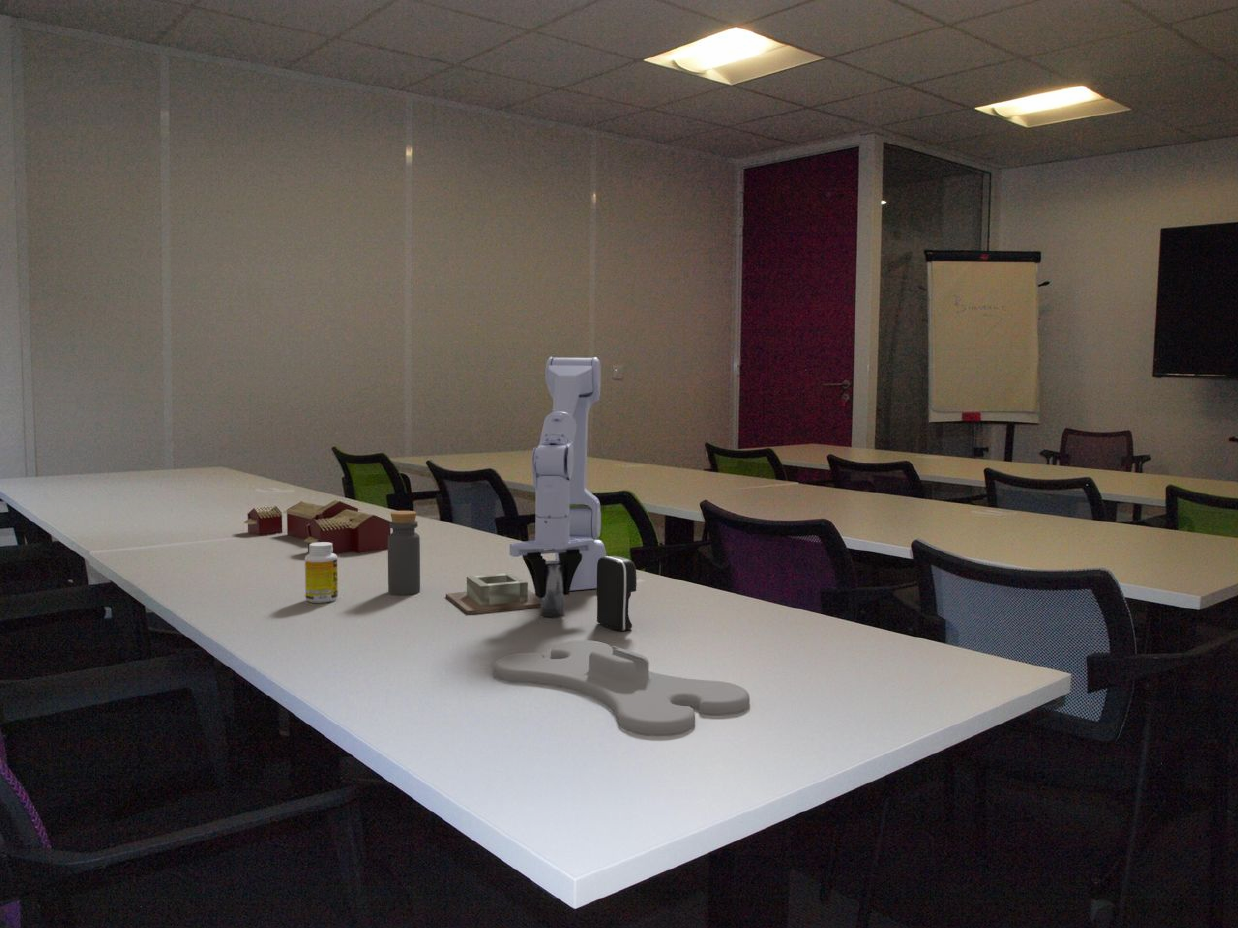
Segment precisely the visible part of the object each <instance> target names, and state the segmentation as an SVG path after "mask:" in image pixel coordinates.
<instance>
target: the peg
mask: <svg viewBox="0 0 1238 928" xmlns="http://www.w3.org/2000/svg"><path fill="white" fill-rule="evenodd" d="M564 610H565V595H564V562H562V561H555V560H546V564H545V570H544V596H543V598H540V607H539V611H540V613H539V615H540V617H542V618H546V619H558V618H563V617H564V616H565V614H564V613H565V611H564Z"/></svg>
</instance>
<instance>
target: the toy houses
mask: <svg viewBox="0 0 1238 928" xmlns="http://www.w3.org/2000/svg"><path fill="white" fill-rule="evenodd" d="M361 511H362V509H360V508H358V507H355V506H353V505H350V504H348V503H345V502H343V501H340V500H336V499H335V500H334V499H333V501H331V502H329V503H327V504H326V505H320V504H315V503H311V502H305V501H300V502H298V503H296V504H294V505H292V506H291V507H289V508H287V509H286V510H285V511H283V512H281V510H280V509H279V507H277V505H276V506H267V507H265V506H264V507H263V508H262V507H257V508H255V507H253V508H252V509H251V510H250V511H249V512H247V513H246V515H247V519H246V520H245V521H243V524H247V533H248V532H249V534H252V533H253V534H252V535H255V534H256V536H259V535H260V536H267V534H269V535H276V533H278V534H283V514H286V526H287V527H286V528H287V529H286V531H287V535H288V536H290V535H291V537H293V538H297V537H298V539H301V538H302V539H301V540H302V541H303V542H305V543H307V552H308V553H309V545H310V544H312V543H318V542H329V543H332V547H333V552H332V553H334V554H336V555H337V554H343V553H351V552H352V553H356V554H361V553H362V554H364V553H368V552H371V553H372V552H377V551H384V550H388V536H389V535H390V534H391V528H390V526H389V524H390V522H391V521H390V520H387V519H385V518H382V517H380V516H377V515H375V514H371V513H366V512H361Z"/></svg>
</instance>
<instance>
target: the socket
mask: <svg viewBox="0 0 1238 928" xmlns="http://www.w3.org/2000/svg"><path fill="white" fill-rule="evenodd" d="M528 584H529V582H528V581H526V580H524V579H523V578H521V577H520V576H518V575H516V574H515V573H512V572H506V573H496V574H494V573H493V574H484V575H483V574H482V575H474V576H473V575H472V576H466V591H461V592H458V591H457V592H448V593H445V598H446V599H448V600H449V601H450V602H452V604H454V605H455V606H456V607H458V608H459V609H461V611H463V612H464V613H465V614H467V615H474V614H483V613H494V612H504V611H505V612H506V611H514V610H525V609H535V608H540V598H539V597H537V596H535V592H533V591H532V590H530V589H529V585H528Z"/></svg>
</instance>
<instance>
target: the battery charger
mask: <svg viewBox="0 0 1238 928" xmlns="http://www.w3.org/2000/svg"><path fill="white" fill-rule="evenodd" d="M637 583H638V582H637V568H636V565H635V563H634V562H633V561H632V560H631V559H629V558H626V557H623V556H617V555H609V556H608V555H606V556H604V557H601V558H600V559H599V560H598V563H597V588H596V622H597V623H598V624H599V625H602V626H603V627H607V628H610V629H612V630H616V631H619V632H623V631H624V632H625V630H630V629H632V627H633V623H632V622H631V619H630V617H629V600H630V598H631V595H632V593H633V592H636V591H637Z"/></svg>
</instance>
